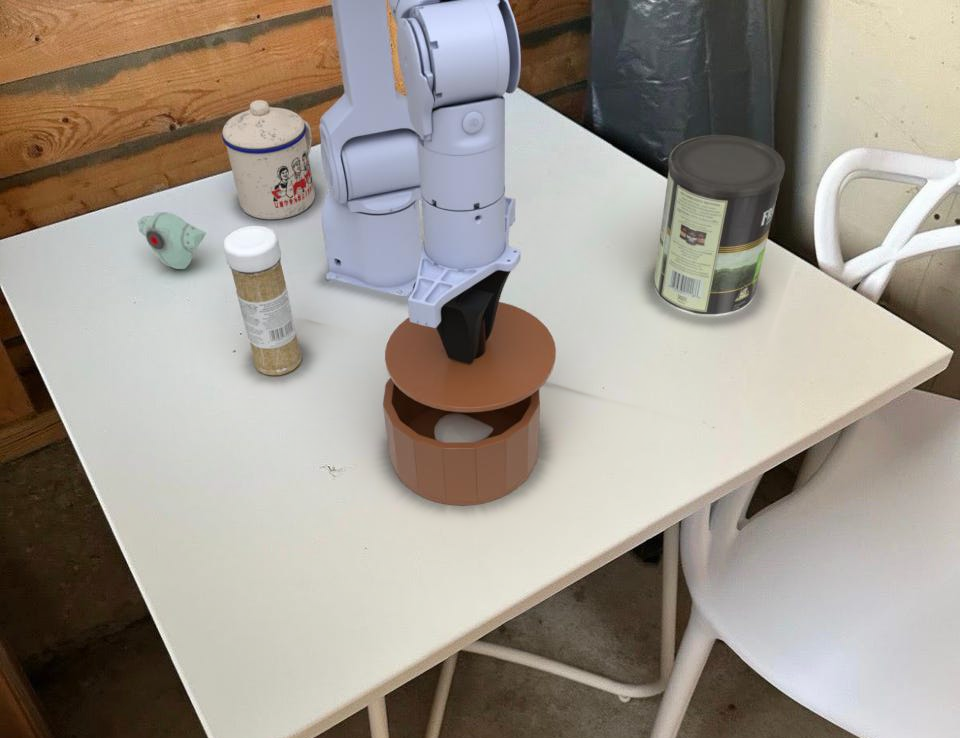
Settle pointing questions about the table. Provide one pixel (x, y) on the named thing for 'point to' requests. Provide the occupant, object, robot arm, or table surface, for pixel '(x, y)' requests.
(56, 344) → the table surface
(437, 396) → the lid
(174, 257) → the robot head
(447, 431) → the white teardrop
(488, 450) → the tin
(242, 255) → the spice jar
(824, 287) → the table surface
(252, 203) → the teacup with lid
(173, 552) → the table surface
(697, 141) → the coffee can
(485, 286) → the robot arm
